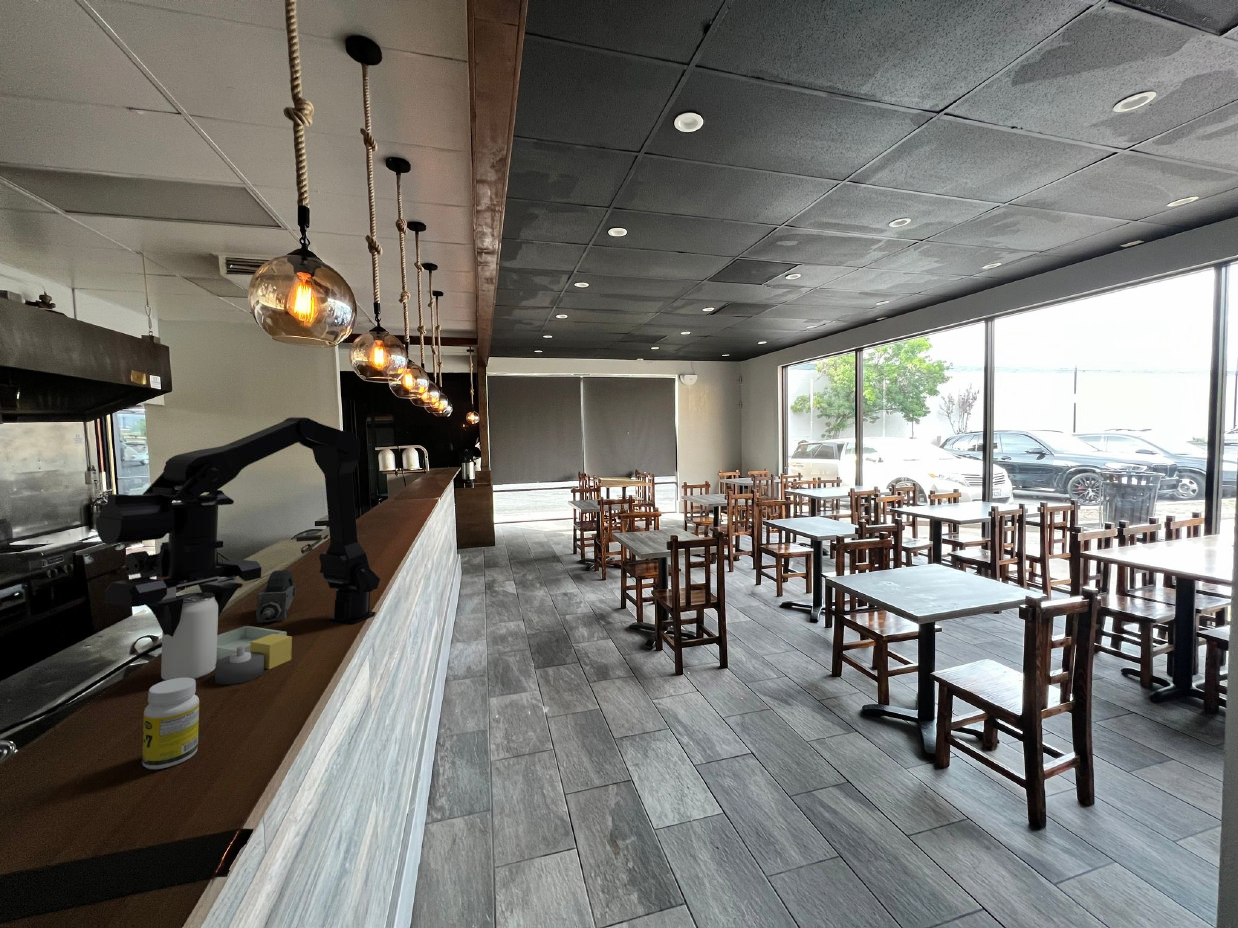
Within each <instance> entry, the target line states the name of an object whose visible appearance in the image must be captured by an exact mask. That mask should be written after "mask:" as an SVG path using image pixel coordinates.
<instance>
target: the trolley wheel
mask: <svg viewBox="0 0 1238 928" xmlns="http://www.w3.org/2000/svg"><path fill="white" fill-rule="evenodd" d="M264 669H265V668H264V655H263V654H262V653H258V652H245V647H244V646H241V647H237V653H236V654H233V655H230V656H227V657H224V658H222V659H220V660H218V661H217V662H216V664H215V669H214V670H215V671H214V674H215V675H214V682H215V683H216V684H219V685H235V684H237V685H238V684H242V683H246V682H249V681H252V680H254V679H257V678H259V677H260V676H262V675H263V674H264Z"/></svg>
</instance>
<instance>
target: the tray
mask: <svg viewBox="0 0 1238 928" xmlns="http://www.w3.org/2000/svg"><path fill="white" fill-rule="evenodd" d="M287 633H288V632H287V631H285V630H284V631H282V630H277V629H270V628H265V627H264V628H263V627H257V626H253V625H252V626H251V625H244V626H240V627H238V628H234V629H231V630H229V631H226V632H223V633H220V634H217V655H216V662H217V661H218V660H220V659H222V658H224V657H227V656H230V655H233V654H236V653H237V647H241V646H244V647H245V652H250V642H251V641H254V640H257V639H260V638H262V637H265V636H268V635H271V634H279V635H285V636H288V634H287Z"/></svg>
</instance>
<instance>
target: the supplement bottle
mask: <svg viewBox="0 0 1238 928" xmlns="http://www.w3.org/2000/svg"><path fill="white" fill-rule="evenodd" d="M196 687H197V683H196V679H193V678H176V679H170V680H166V681H165V680H162V681H161V682H158V683H156V684H153V685H151V687H150V688H149V689H148V695H147V702H148V704H147V706H146V707H145V708H144V711H143V722H142V724H143V725H142V726H143V729H142V752H141V753H142V755H141V756H142V758H141V759H142V760H141V764H142V766H143V767H145V768H146V769H148V770H161V769H165V768H166V769H167V768H170V767H173V766H176V765H179V764H181V763H184V762H186V761H188V760H189V759H191V758H192V757H193V756H194V755H195V754H196V753H197V751H198V749H199V747H198V746H199V718H200V699H199V697H198V695H196V694H195V693H196V689H197V688H196Z"/></svg>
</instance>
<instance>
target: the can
mask: <svg viewBox="0 0 1238 928" xmlns="http://www.w3.org/2000/svg"><path fill="white" fill-rule="evenodd" d="M214 596H215V594H214V593H209V592H202V591H200V592H190V593H183V594H178V595H177V594H176V597H178V598H184V601H183V607H182V612H181V618H180V623H179V624H178V626H177V628H176V630H175V633H174V635H173V637H171V636H170V635H167V634H166V635H164V633H163V631H162V637H161V665H160V669H161V671H160V677H161V679H162V680H163V681H166V680H170V679H176V678H193V679H195V680H198V679H201V678H203V677H207V676H208V675H210V674H211V673H213V671H214V670H215V664H216V655H217V635H218V628H219V627H218V626H219V625H218V624H219V620H218V619H219V617H218V603H217V601H216V599H215V597H214Z"/></svg>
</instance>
